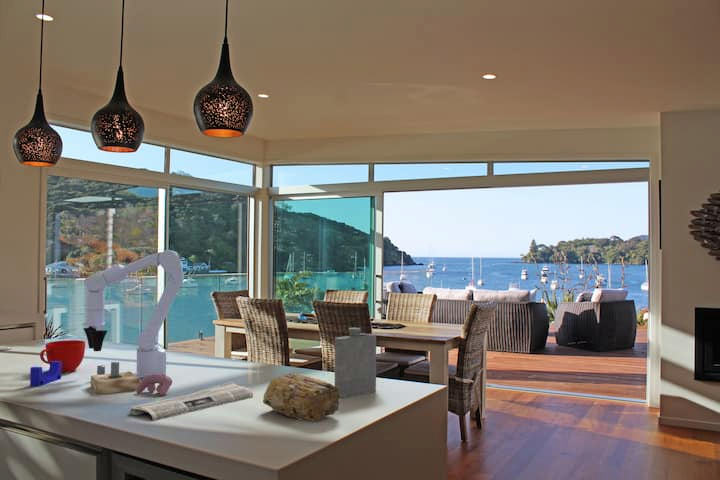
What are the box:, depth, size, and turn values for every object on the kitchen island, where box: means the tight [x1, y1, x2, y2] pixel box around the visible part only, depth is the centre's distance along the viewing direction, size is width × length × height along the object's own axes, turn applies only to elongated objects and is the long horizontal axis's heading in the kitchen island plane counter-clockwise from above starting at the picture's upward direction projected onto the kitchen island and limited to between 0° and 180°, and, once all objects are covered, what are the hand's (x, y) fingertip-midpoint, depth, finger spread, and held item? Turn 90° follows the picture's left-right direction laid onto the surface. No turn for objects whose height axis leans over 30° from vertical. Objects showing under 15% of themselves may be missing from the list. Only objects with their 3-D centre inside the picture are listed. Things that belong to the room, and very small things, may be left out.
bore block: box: [90, 371, 141, 395], centre depth 197 cm, size 12×12×4 cm
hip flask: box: [334, 327, 377, 400], centre depth 191 cm, size 16×4×20 cm, turn 133°
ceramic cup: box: [39, 339, 86, 373], centre depth 223 cm, size 13×17×10 cm
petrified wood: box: [262, 373, 340, 422], centre depth 166 cm, size 19×13×10 cm
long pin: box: [110, 361, 120, 378], centre depth 197 cm, size 2×2×8 cm
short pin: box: [96, 364, 106, 375], centre depth 209 cm, size 2×2×4 cm
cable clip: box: [29, 361, 62, 387], centre depth 205 cm, size 12×4×6 cm, turn 174°
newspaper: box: [129, 380, 254, 421], centre depth 177 cm, size 35×12×4 cm, turn 142°
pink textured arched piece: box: [135, 373, 173, 397], centre depth 190 cm, size 10×5×7 cm, turn 72°
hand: (94, 349), depth 213 cm, fingers open, 7 cm apart
